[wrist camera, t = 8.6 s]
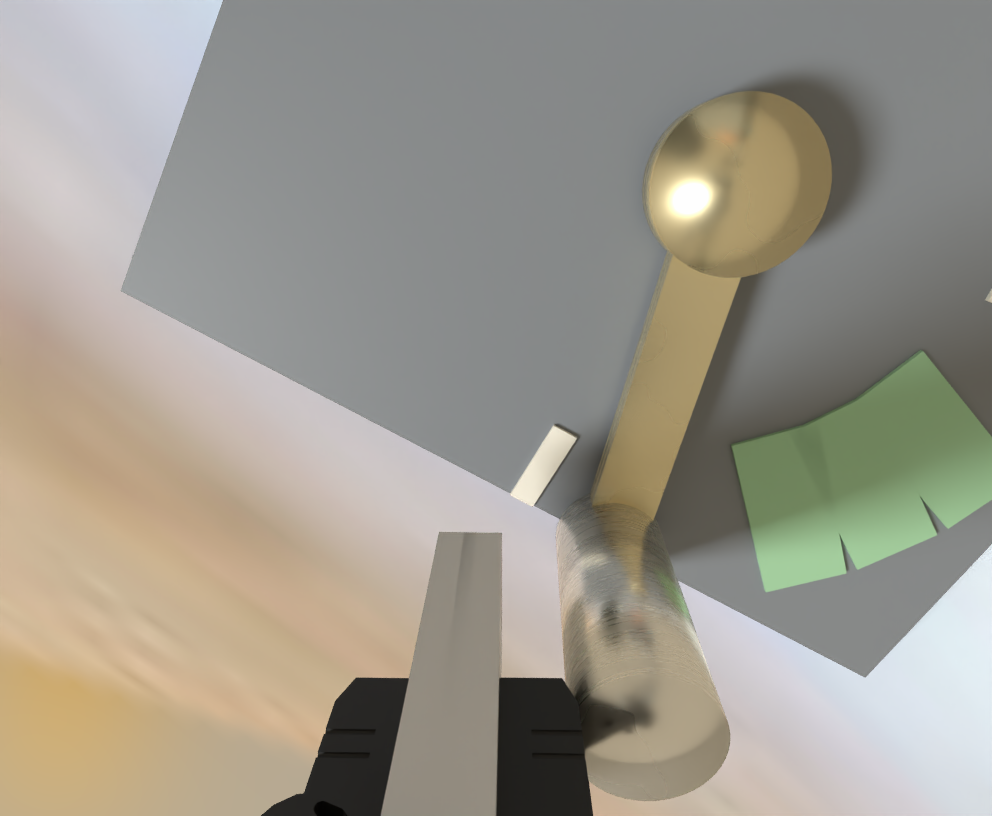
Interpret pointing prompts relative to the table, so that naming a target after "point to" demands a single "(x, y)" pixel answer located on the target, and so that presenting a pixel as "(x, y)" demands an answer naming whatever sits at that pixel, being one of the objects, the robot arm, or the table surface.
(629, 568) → the brass ball-ended crank
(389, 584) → the table surface
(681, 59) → the tuner board
